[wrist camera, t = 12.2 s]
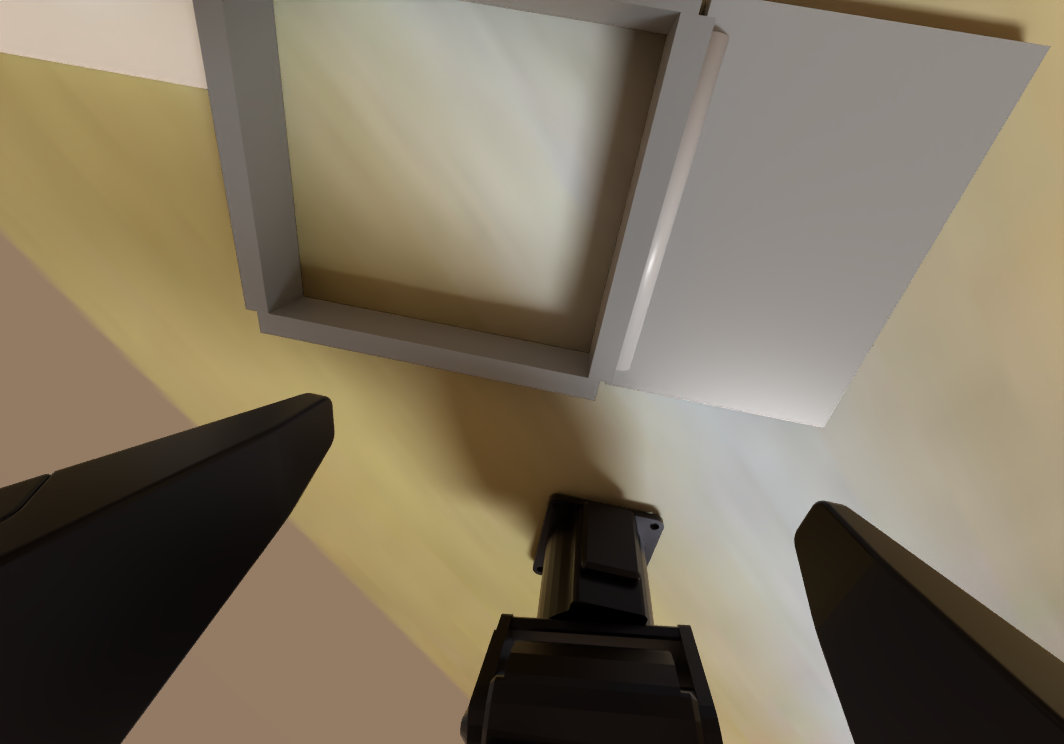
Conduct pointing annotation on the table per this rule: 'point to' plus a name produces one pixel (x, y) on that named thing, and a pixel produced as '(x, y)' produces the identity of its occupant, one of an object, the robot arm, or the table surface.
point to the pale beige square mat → (108, 36)
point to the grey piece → (686, 199)
